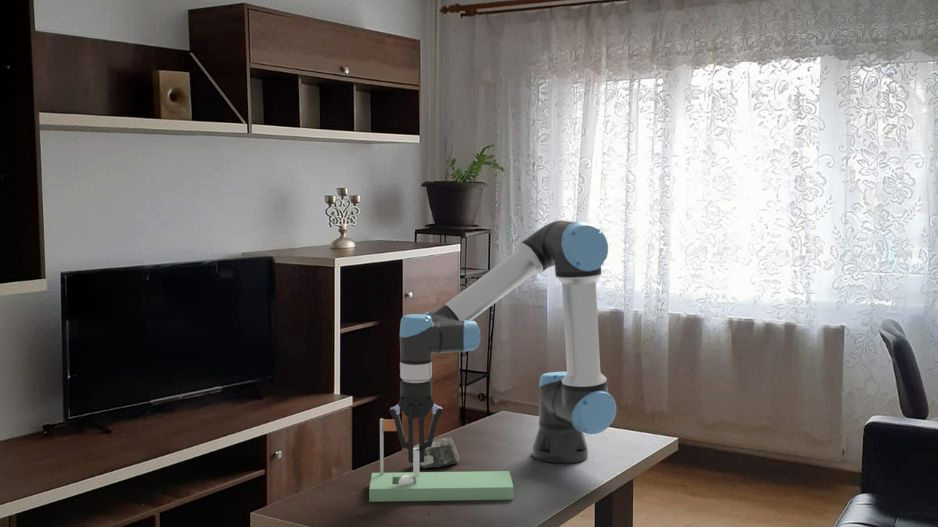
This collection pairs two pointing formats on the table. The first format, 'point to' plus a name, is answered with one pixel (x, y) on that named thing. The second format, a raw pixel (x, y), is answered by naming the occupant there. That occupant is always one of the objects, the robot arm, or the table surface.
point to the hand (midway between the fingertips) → (416, 475)
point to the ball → (406, 480)
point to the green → (438, 483)
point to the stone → (440, 453)
